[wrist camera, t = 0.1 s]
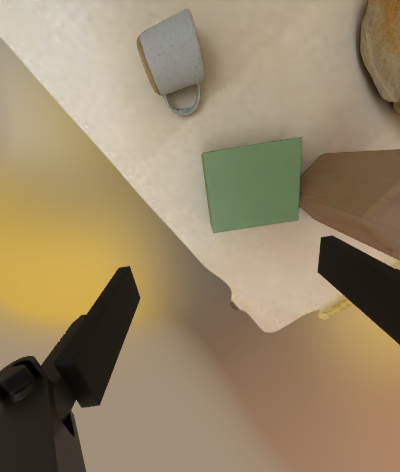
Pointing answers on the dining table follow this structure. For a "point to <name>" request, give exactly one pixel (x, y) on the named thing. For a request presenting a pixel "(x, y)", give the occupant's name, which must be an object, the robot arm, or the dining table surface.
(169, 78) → the ceramic mug
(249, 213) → the green block
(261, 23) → the dining table surface
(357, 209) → the wooden block
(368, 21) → the rough brown rock
